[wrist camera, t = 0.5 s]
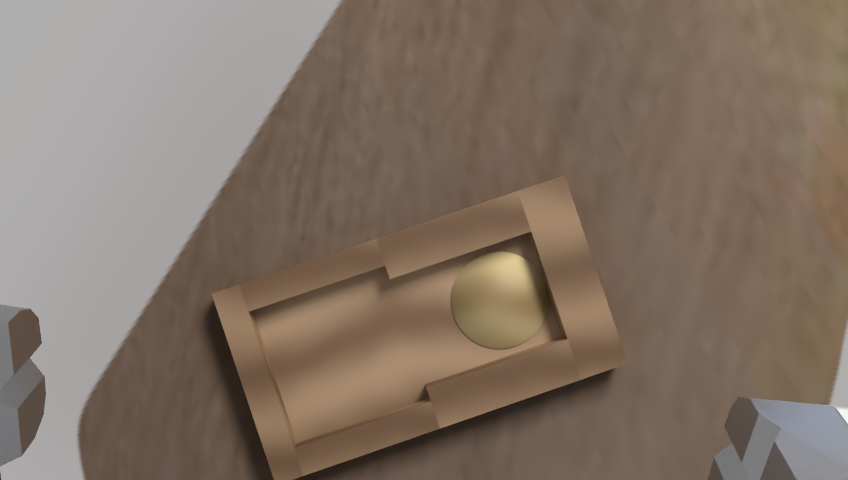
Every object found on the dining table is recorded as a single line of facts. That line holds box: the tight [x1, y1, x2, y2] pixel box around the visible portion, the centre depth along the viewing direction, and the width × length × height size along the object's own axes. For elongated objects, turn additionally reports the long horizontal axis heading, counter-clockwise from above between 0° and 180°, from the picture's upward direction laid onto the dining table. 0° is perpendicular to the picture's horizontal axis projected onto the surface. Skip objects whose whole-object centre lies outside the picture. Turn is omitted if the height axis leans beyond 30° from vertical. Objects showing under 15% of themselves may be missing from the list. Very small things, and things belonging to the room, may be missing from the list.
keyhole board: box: [212, 175, 628, 480], centre depth 58 cm, size 14×26×2 cm, turn 109°
